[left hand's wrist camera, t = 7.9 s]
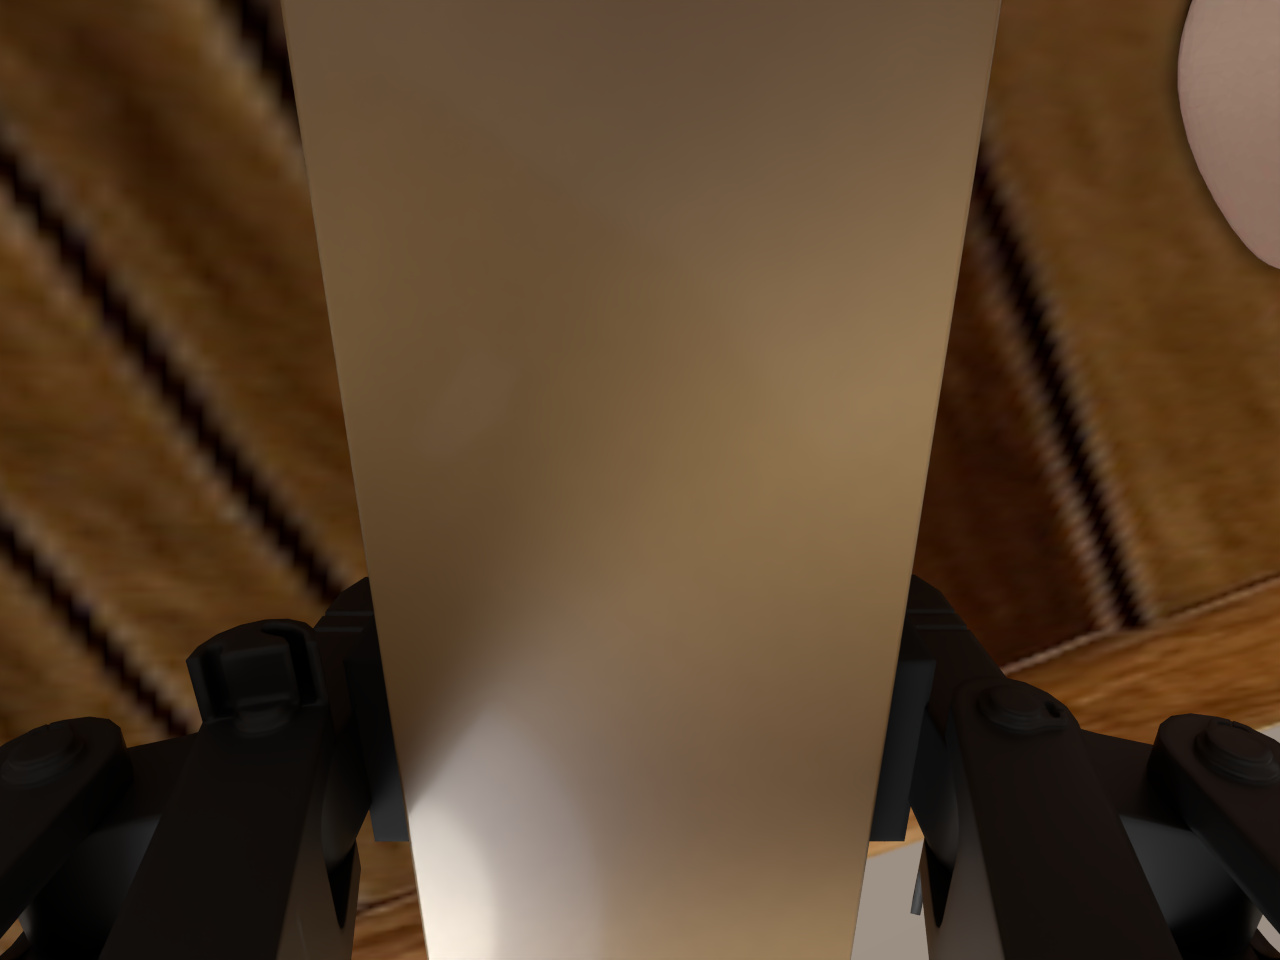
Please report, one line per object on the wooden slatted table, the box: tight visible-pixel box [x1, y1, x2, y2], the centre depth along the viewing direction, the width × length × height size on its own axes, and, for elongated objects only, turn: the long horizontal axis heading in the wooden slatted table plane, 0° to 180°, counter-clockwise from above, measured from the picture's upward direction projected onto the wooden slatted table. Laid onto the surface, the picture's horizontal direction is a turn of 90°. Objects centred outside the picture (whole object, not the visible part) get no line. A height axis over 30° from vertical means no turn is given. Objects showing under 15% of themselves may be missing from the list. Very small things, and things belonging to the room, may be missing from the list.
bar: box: [280, 0, 1002, 960], centre depth 8 cm, size 22×5×8 cm, turn 0°
